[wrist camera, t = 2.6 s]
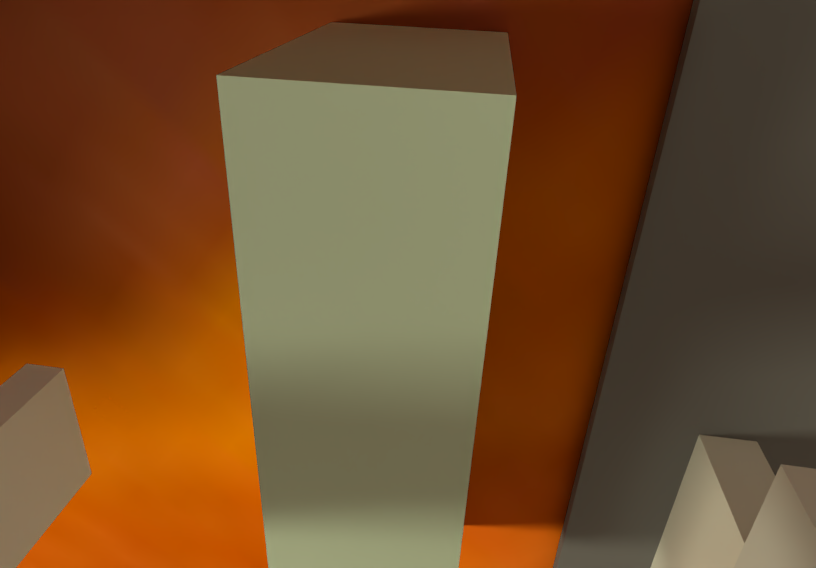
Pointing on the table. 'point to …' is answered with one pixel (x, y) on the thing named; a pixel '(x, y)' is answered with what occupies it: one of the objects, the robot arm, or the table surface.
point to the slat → (367, 280)
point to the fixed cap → (715, 504)
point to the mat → (710, 283)
